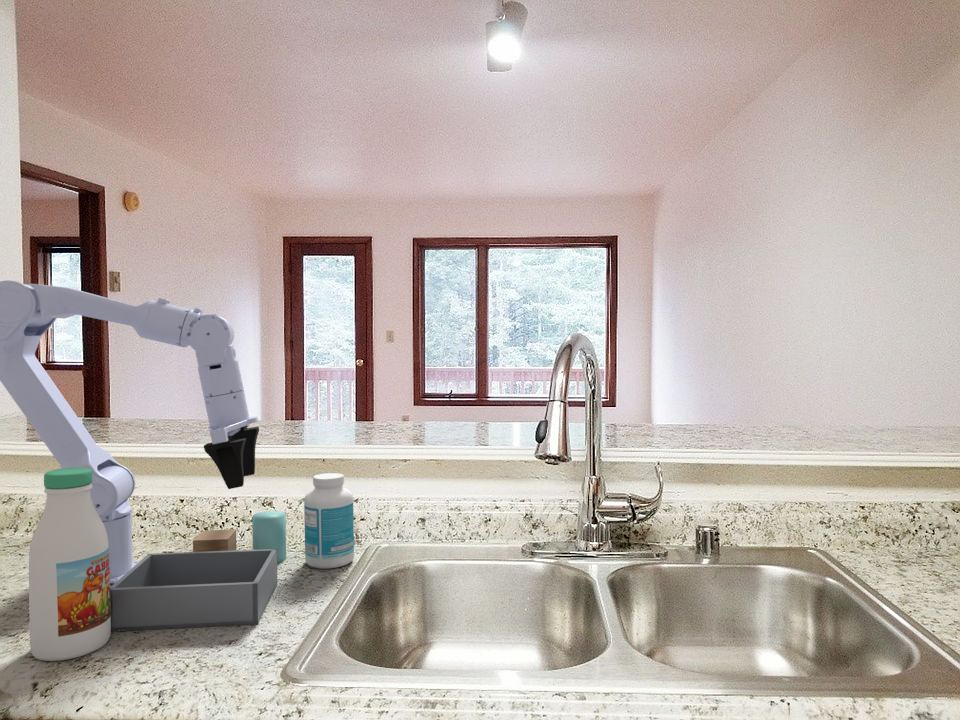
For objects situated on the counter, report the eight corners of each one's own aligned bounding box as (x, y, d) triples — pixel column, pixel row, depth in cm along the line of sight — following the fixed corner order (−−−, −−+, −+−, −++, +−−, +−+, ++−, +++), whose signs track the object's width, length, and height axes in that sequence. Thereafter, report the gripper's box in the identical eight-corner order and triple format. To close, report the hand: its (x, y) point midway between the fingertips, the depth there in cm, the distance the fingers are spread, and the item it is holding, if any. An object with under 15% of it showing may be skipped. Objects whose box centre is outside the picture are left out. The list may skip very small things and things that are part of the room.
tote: (107, 631, 78) (106, 590, 78) (149, 589, 91) (148, 553, 91) (258, 624, 80) (257, 583, 80) (277, 583, 93) (277, 548, 93)
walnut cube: (193, 573, 97) (192, 540, 97) (203, 562, 102) (202, 530, 102) (228, 572, 98) (228, 539, 98) (236, 561, 103) (236, 529, 103)
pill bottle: (359, 555, 106) (359, 471, 105) (345, 571, 98) (345, 481, 98) (314, 553, 106) (313, 470, 106) (297, 569, 99) (296, 480, 99)
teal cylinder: (249, 565, 101) (249, 520, 101) (256, 554, 106) (256, 511, 106) (283, 564, 101) (282, 519, 101) (288, 553, 106) (288, 510, 106)
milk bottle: (25, 669, 69) (21, 480, 68) (35, 639, 76) (31, 467, 75) (109, 653, 73) (106, 473, 72) (112, 626, 79) (109, 461, 79)
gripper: (239, 393, 92) (258, 487, 93) (260, 384, 107) (277, 465, 108) (188, 403, 92) (207, 497, 93) (216, 392, 106) (233, 474, 107)
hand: (242, 481), depth 100 cm, fingers open, 7 cm apart
